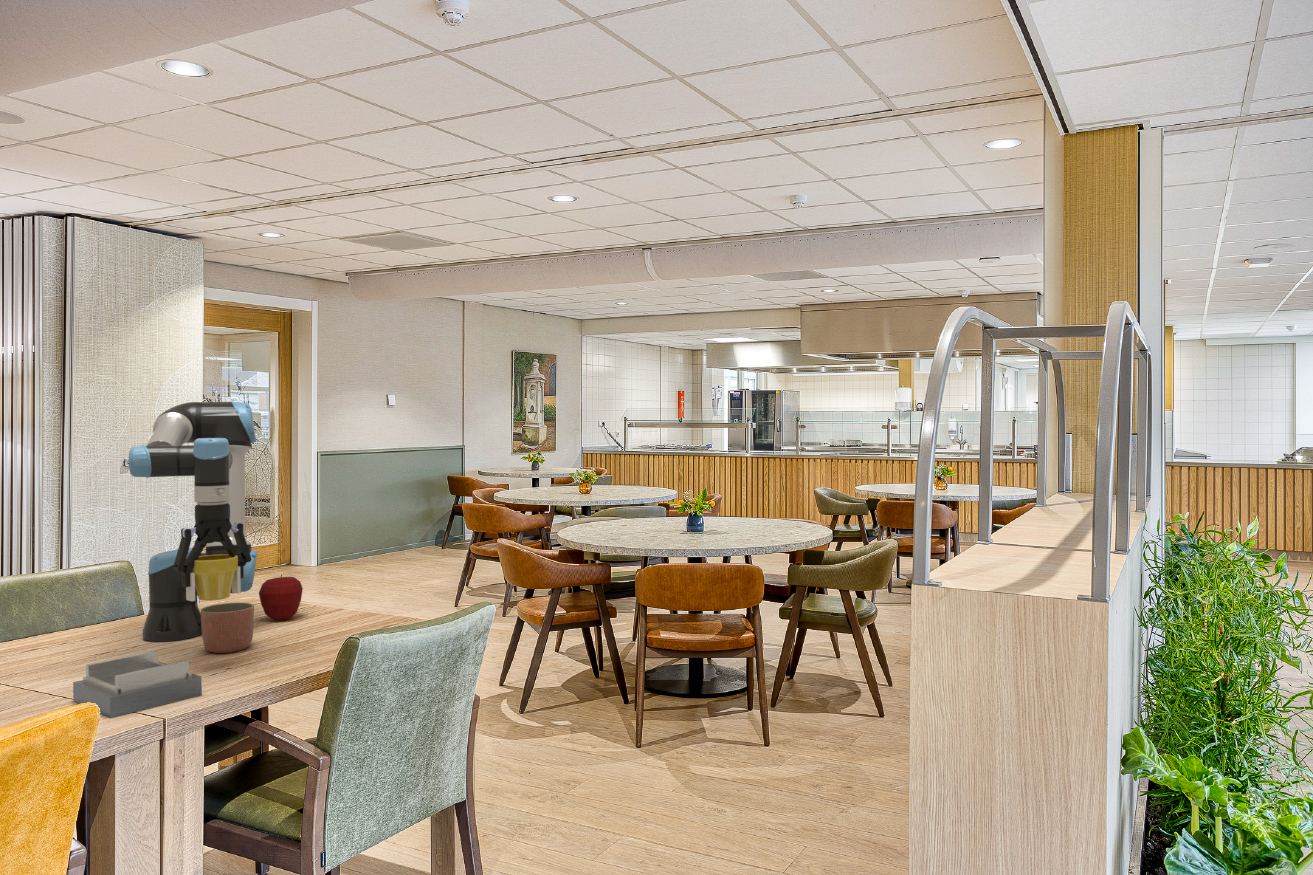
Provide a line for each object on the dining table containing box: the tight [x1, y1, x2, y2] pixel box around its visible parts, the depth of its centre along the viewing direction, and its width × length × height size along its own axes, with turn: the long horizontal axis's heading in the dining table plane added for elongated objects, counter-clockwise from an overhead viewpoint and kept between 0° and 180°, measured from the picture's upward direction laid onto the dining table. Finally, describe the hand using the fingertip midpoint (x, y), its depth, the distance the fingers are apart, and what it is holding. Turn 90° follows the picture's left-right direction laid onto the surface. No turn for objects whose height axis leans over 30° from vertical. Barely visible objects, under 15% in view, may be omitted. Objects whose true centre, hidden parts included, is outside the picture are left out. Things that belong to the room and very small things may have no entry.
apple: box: [258, 574, 304, 622], centre depth 264 cm, size 12×12×13 cm
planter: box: [200, 602, 255, 654], centre depth 230 cm, size 12×12×11 cm
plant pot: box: [191, 554, 238, 602], centre depth 212 cm, size 10×10×10 cm
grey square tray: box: [72, 650, 203, 719], centre depth 190 cm, size 19×18×8 cm
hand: (213, 596), depth 212 cm, fingers closed on plant pot, 10 cm apart
